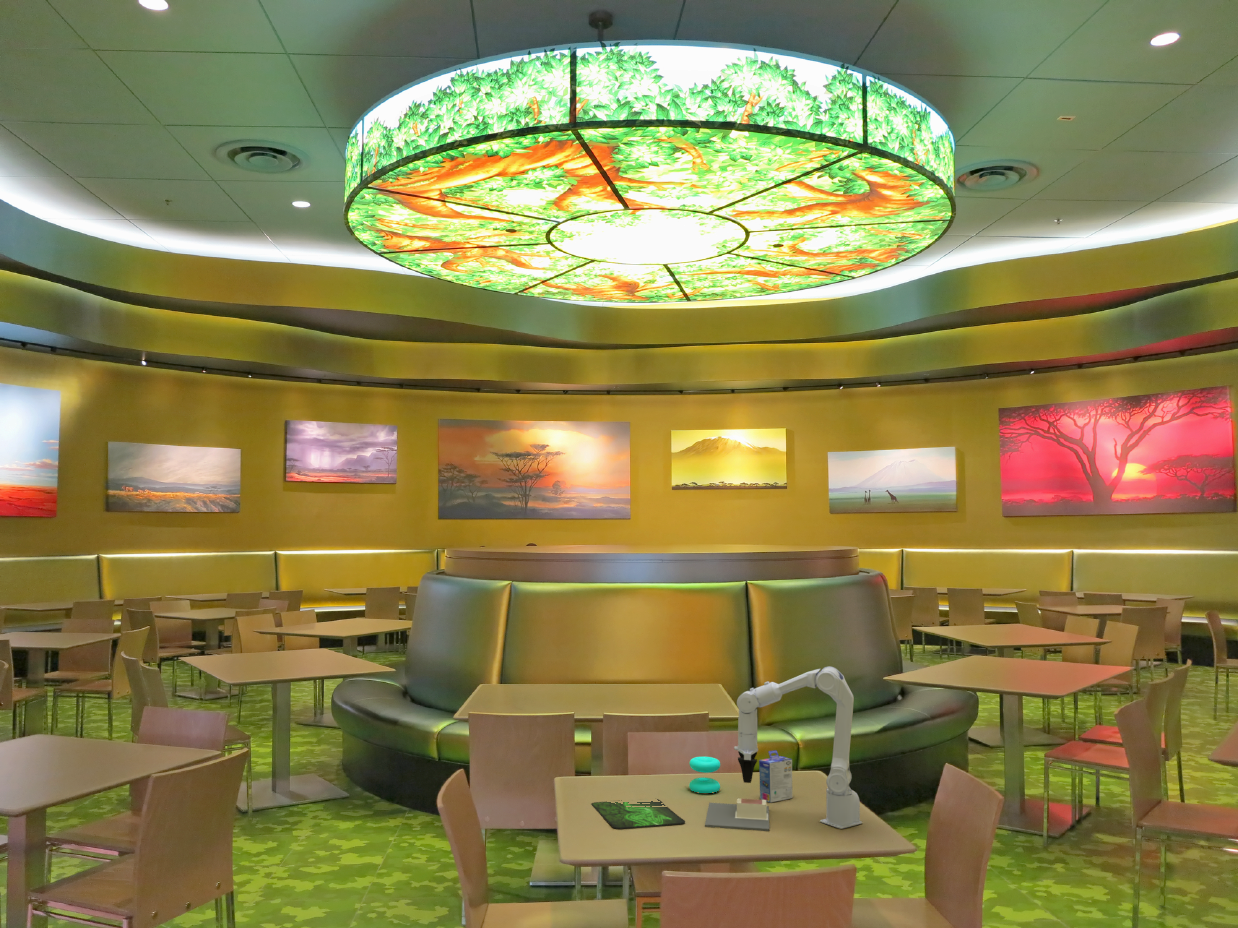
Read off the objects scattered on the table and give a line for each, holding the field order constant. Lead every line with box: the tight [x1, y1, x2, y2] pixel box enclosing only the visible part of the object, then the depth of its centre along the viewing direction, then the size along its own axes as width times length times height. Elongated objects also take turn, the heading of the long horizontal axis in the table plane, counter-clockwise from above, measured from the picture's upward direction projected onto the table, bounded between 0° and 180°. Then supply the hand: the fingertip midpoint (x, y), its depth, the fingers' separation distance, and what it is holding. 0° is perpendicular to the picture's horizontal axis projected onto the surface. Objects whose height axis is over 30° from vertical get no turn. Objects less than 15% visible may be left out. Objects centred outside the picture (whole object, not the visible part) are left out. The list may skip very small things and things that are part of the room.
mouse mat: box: [590, 798, 686, 830], centre depth 270 cm, size 27×22×1 cm
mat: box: [704, 802, 770, 832], centre depth 268 cm, size 18×22×1 cm
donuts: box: [688, 756, 721, 794], centre depth 296 cm, size 10×10×10 cm
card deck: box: [736, 797, 767, 819], centre depth 267 cm, size 5×8×4 cm, turn 82°
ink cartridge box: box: [758, 750, 793, 803], centre depth 288 cm, size 10×6×14 cm, turn 124°
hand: (747, 778), depth 273 cm, fingers open, 7 cm apart
